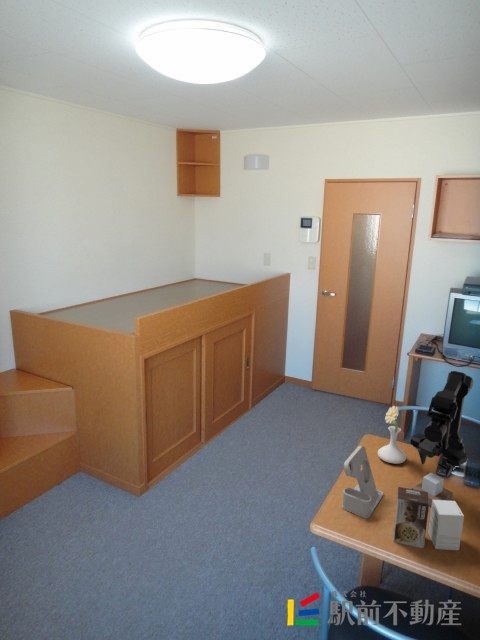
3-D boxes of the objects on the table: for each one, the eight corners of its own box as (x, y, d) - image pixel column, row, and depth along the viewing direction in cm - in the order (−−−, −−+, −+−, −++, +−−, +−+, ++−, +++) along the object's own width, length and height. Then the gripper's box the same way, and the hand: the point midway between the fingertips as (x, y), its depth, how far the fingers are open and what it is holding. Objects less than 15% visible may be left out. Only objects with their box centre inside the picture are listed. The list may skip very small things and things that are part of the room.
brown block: (426, 485, 170) (427, 478, 169) (451, 499, 162) (452, 492, 161) (410, 495, 164) (411, 488, 164) (435, 510, 156) (436, 502, 156)
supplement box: (450, 534, 145) (456, 500, 142) (459, 551, 138) (465, 516, 135) (427, 532, 146) (431, 498, 143) (434, 549, 139) (439, 514, 136)
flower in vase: (378, 449, 195) (383, 395, 189) (406, 454, 191) (412, 400, 185) (375, 464, 183) (380, 408, 177) (405, 471, 179) (411, 413, 173)
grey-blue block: (429, 484, 166) (431, 472, 165) (442, 491, 162) (444, 479, 161) (421, 489, 163) (423, 477, 162) (434, 496, 159) (436, 484, 158)
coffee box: (423, 535, 145) (428, 491, 140) (424, 549, 139) (430, 504, 135) (393, 528, 147) (398, 485, 143) (392, 542, 141) (398, 497, 137)
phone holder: (367, 520, 151) (372, 473, 147) (339, 508, 157) (342, 462, 152) (384, 494, 165) (388, 450, 161) (357, 484, 171) (361, 441, 166)
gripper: (402, 425, 159) (398, 464, 163) (452, 448, 145) (446, 491, 148) (421, 417, 166) (416, 455, 169) (471, 439, 151) (464, 480, 155)
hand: (434, 470), depth 160 cm, fingers open, 9 cm apart
